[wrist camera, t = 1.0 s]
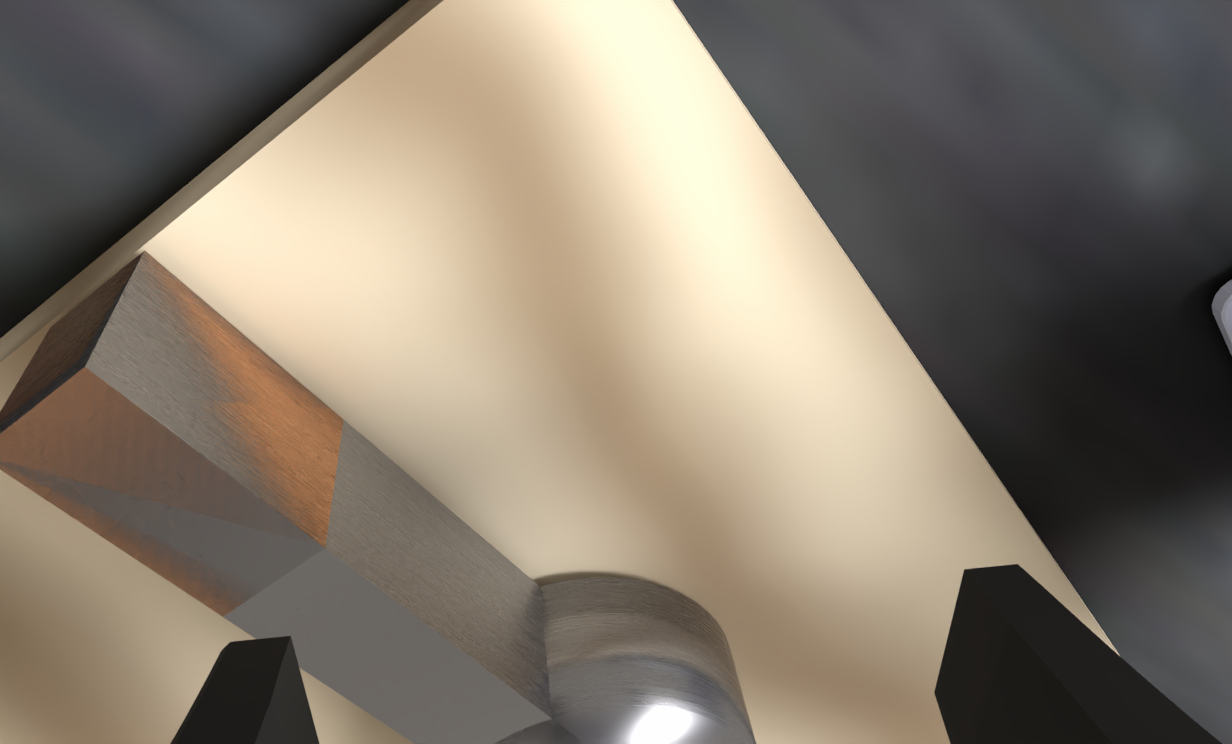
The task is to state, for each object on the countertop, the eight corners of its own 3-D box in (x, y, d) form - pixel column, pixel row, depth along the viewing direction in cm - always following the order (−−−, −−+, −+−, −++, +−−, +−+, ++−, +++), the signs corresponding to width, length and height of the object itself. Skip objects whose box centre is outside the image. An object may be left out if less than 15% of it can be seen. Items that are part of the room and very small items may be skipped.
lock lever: (784, 684, 23) (825, 812, 20) (559, 809, 24) (571, 942, 22) (244, 168, 15) (203, 273, 12) (-38, 398, 16) (-126, 533, 14)
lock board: (577, -139, 15) (589, -118, 13) (1114, 648, 26) (1148, 699, 25) (-347, 624, 20) (-401, 690, 19) (431, 1000, 32) (430, 1057, 30)
